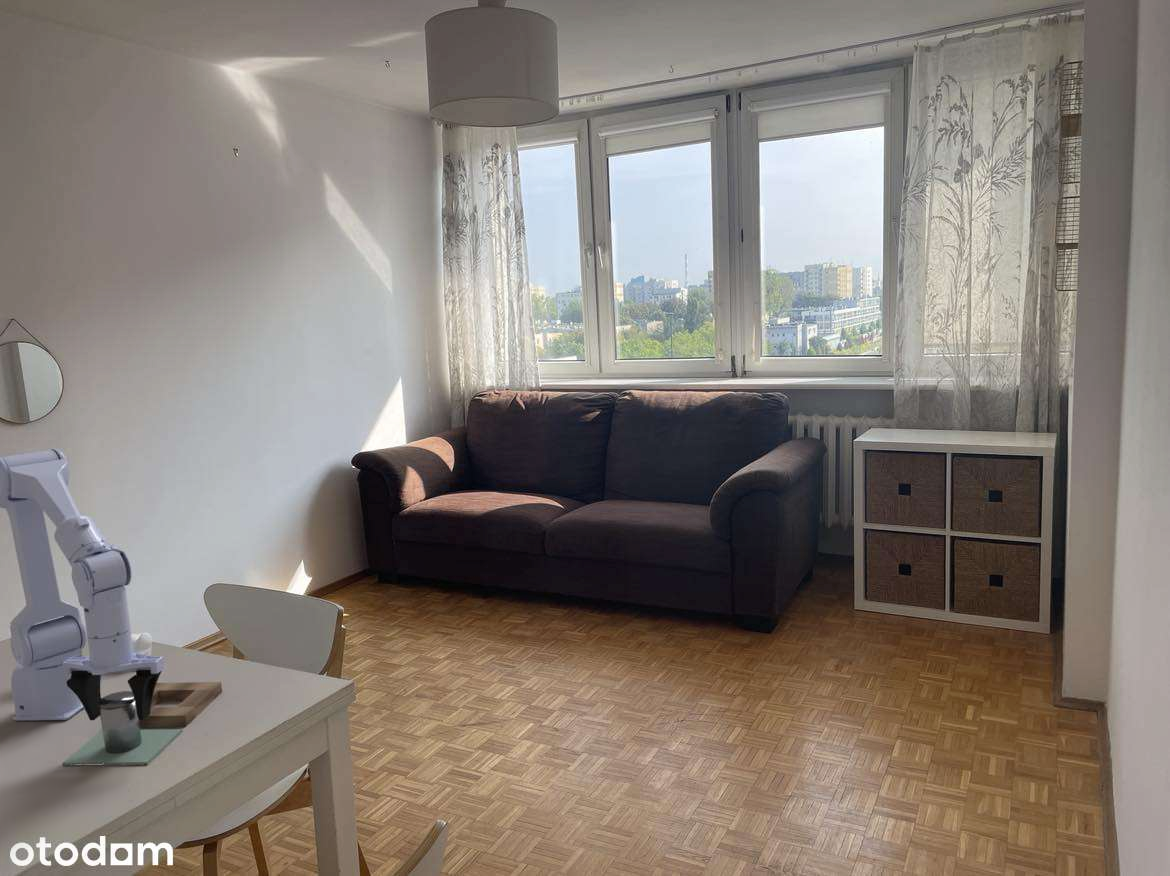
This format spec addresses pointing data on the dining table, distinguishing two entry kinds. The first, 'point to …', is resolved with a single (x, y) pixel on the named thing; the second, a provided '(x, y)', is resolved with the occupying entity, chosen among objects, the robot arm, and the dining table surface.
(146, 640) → the elephant figurine
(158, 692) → the collar
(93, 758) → the mat
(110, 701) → the metal cylinder
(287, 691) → the dining table surface
